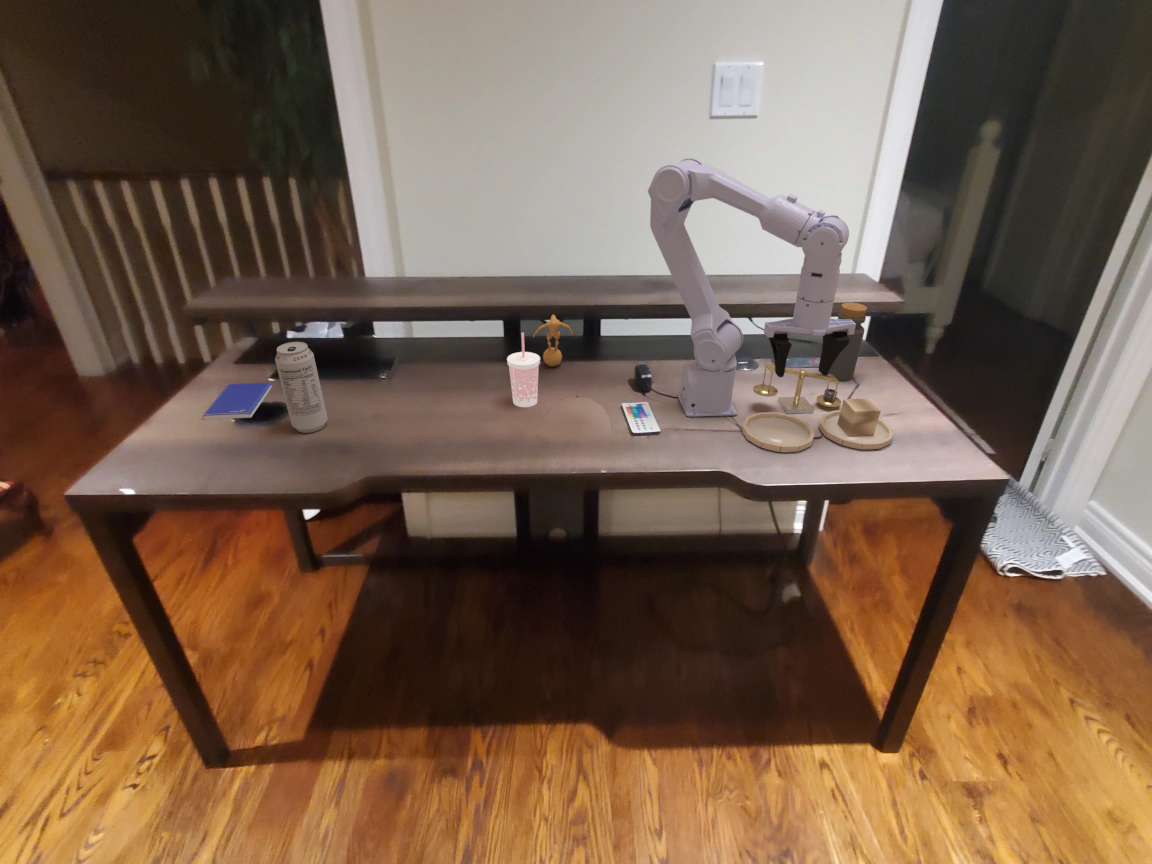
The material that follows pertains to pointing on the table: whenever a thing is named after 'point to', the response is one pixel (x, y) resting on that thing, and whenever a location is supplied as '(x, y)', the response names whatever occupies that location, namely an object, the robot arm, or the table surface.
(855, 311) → the bottle
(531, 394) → the beverage cup
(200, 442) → the table surface
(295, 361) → the energy drink can
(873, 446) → the right dish
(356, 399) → the table surface
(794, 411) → the balance scale
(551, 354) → the figurine
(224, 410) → the hard drive
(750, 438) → the left dish
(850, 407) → the maple block
